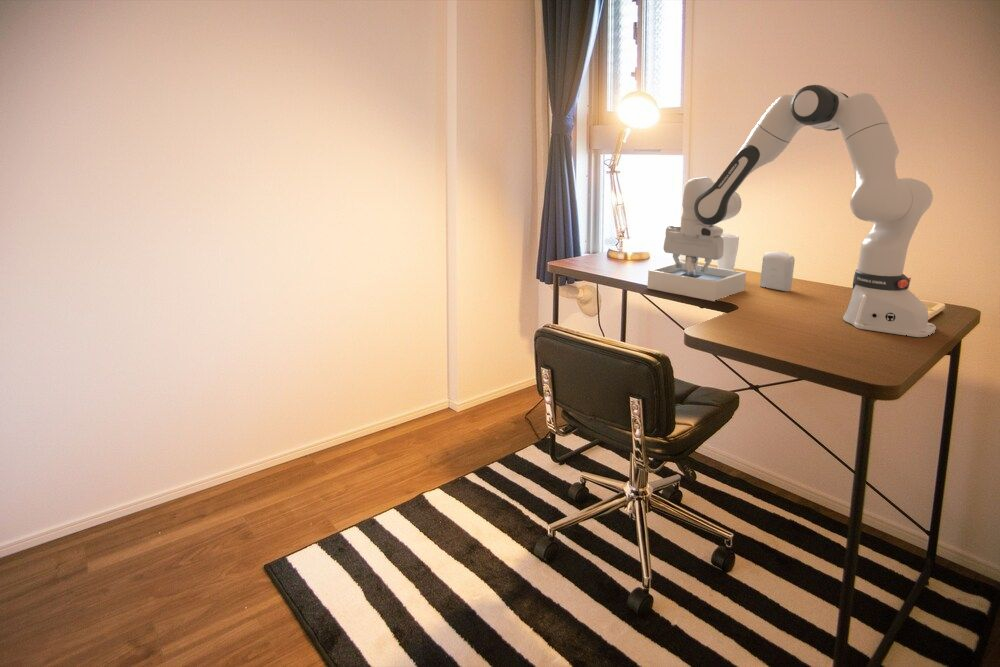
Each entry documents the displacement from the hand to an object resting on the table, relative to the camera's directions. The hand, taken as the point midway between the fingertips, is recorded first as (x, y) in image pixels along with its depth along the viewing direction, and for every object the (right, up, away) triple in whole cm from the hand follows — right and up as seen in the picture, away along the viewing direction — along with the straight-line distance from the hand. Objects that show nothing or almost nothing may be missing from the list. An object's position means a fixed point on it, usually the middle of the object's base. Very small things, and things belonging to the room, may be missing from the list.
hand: (691, 269), depth 236 cm
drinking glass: (+15, -2, +13) cm, 20 cm away
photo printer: (+28, -7, -1) cm, 28 cm away
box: (+1, -7, -3) cm, 7 cm away
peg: (0, -5, +2) cm, 6 cm away
